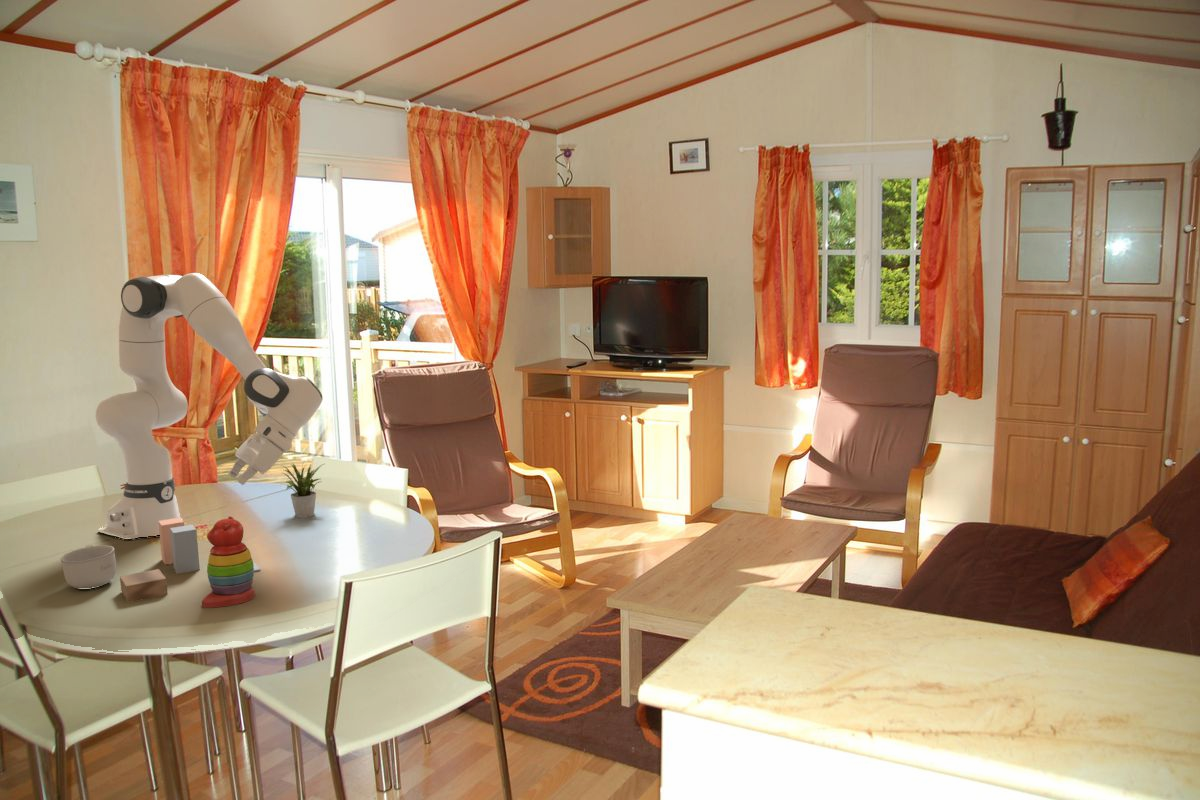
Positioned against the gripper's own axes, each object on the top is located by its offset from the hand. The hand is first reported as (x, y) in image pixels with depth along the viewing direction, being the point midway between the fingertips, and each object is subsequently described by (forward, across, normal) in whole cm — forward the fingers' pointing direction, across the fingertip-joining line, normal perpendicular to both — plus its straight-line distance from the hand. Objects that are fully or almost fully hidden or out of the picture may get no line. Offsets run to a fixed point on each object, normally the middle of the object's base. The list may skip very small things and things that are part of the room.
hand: (235, 479), depth 226 cm
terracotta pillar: (+24, -9, +4) cm, 26 cm away
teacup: (+37, -2, -9) cm, 38 cm away
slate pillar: (+23, 0, +5) cm, 24 cm away
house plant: (-2, -33, +31) cm, 45 cm away
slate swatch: (+15, +9, +13) cm, 22 cm away
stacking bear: (+20, +27, +9) cm, 35 cm away
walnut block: (+31, +12, -2) cm, 33 cm away
